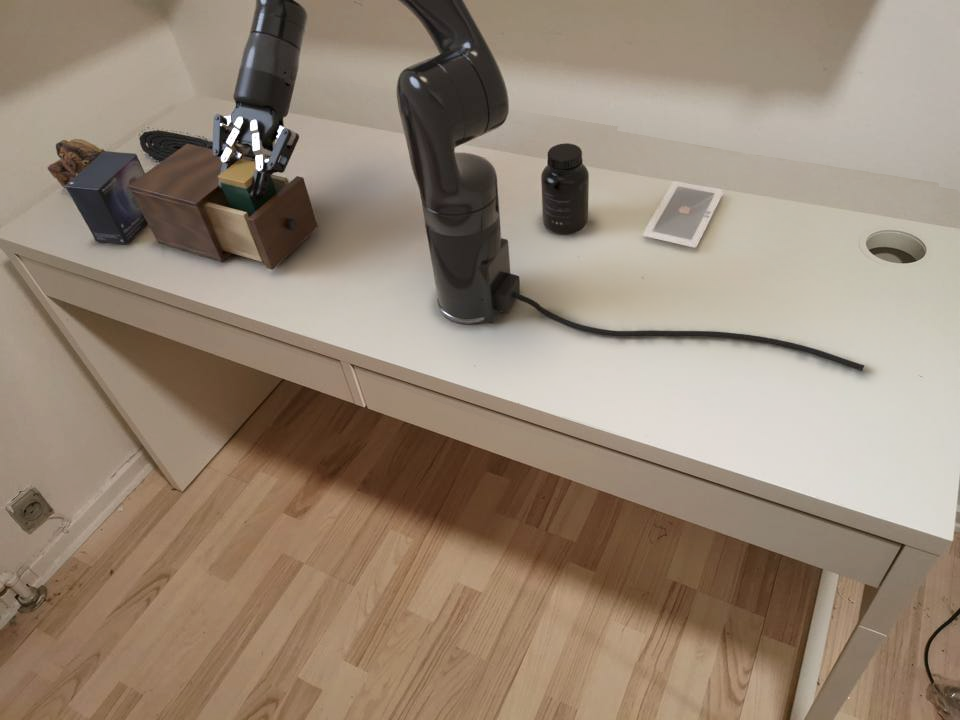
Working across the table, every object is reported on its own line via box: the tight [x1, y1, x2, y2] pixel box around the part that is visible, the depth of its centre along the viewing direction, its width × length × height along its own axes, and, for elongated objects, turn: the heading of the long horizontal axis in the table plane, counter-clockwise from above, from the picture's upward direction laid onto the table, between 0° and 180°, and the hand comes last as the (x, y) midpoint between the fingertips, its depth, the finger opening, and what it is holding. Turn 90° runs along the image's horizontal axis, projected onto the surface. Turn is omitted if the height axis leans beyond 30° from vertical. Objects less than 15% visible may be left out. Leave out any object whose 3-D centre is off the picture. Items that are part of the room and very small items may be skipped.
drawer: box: [202, 174, 319, 271], centre depth 105 cm, size 14×11×9 cm
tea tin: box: [218, 159, 277, 217], centre depth 102 cm, size 5×5×7 cm
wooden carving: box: [47, 138, 105, 189], centre depth 119 cm, size 16×5×10 cm, turn 70°
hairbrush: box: [138, 127, 256, 162], centre depth 129 cm, size 8×4×25 cm
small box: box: [64, 150, 148, 245], centre depth 112 cm, size 11×6×10 cm, turn 166°
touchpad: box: [641, 180, 725, 249], centre depth 103 cm, size 8×15×2 cm, turn 152°
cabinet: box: [128, 144, 255, 263], centre depth 109 cm, size 14×13×11 cm
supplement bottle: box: [540, 142, 590, 236], centre depth 102 cm, size 7×7×12 cm
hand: (240, 194), depth 100 cm, fingers closed on tea tin, 5 cm apart
